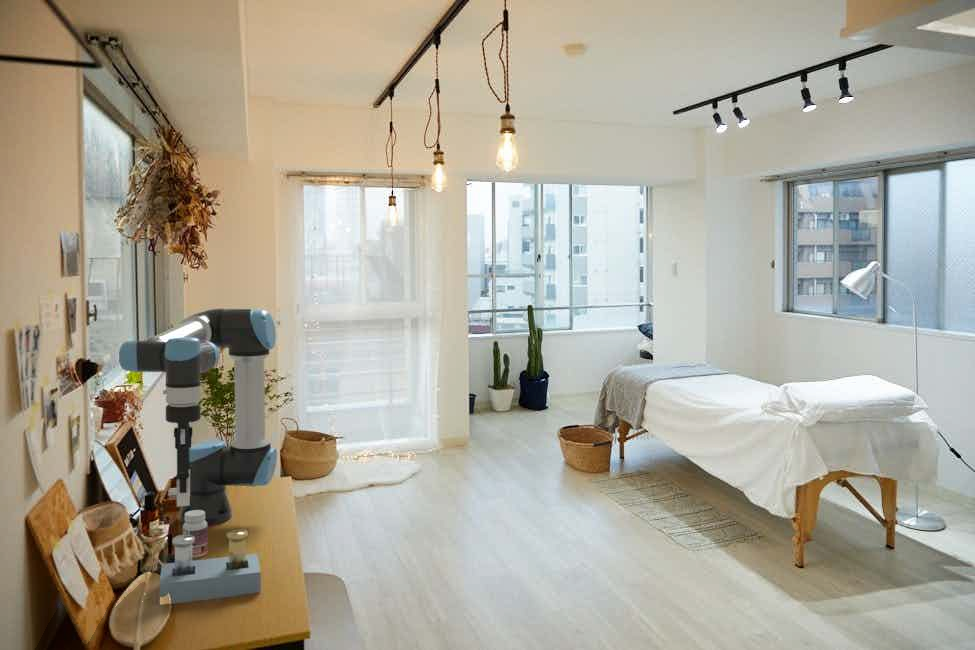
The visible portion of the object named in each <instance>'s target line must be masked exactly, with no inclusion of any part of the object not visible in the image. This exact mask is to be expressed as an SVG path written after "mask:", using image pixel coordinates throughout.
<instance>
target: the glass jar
mask: <svg viewBox="0 0 975 650" xmlns="http://www.w3.org/2000/svg"><path fill="white" fill-rule="evenodd" d="M248 536H249V531H248V530H247V529H244V528H243V529H241V528H240V529H232V530H229V531H227V533H226V539H227V540H228V557H229V569H231V570H234V569H242V568H245V567H246V555H247V554H246V552H247V551H246V547H247V545H246V543H247V542H246V539H247V538H248Z"/></svg>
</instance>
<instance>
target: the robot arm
mask: <svg viewBox="0 0 975 650" xmlns="http://www.w3.org/2000/svg"><path fill="white" fill-rule="evenodd" d="M276 332H277V331H276V326H275V321H274V319H273V317H272V315H271V313H270V312H269V311H267V310H265V309H256V308H237V309H236V308H214V309H208V310H205V311H201V312H197V313H196V314H195V313H194V314H193V315H189V316H188V317H186V318H184V319H182V320H181V322H180V323H179V324H178V325H176V326H174V327H172V328H169V329H167V330H165V331H163V332H161V333H158V334H156V335H154V336H152V337H149V338H148V339H145V340H137V339H136V340H126V341H124V342H123V343H122V344H121V346H120V347H119V351H118V363H119V365H120V367H121V369H122V370H124V371H126V372H135V373H143V372H144V373H165V390H164V389H163V390H162V395H165V403H166V406H165V421H166V422H168V423H171V424H177V427H174V430H173V437H174V448H175V449H176V476H173V480H176V507H177V508H179V507H180V509H179V512H178V522H179V523H180V524H182V525H183V524H184V523H185V522H186V521H185V520H184V518H185V513H186V512H188V511H192V510H203V511H205V519H204V520H205V521H206V522H207V526H213V525H217V524H218V525H219V524H222V523H223V522H224V523H225V522H226V521H228V520H230V519H231V518H232V516H233V515H232V514H233V511H232V509H233V508H232V505H231V503H230V500H229V498H228V495H227V490H226V489H227V488H226V487H227V486H232V487H233V486H234V487H235V486H237V487H238V486H240V487H244V486H245V487H260V486H261V487H262V486H263V487H264V486H267V485H268V484H269V483H270V482H271V481H272V479H273V478H274V474H275V470H276V466H277V461H278V452H277V451H278V450H277V448H276V447H274V446H272V445H271V439H269V438H268V437H267V436H266V416H265V415H266V407H265V406H266V402H265V401H266V399H265V398H266V397H265V396H266V395H265V394H266V393H265V392H266V391H265V386H266V385H265V359H266V358H267V357H268V356H269V355H270V350H272V349H274V347H275V346H276V338H277V335H276V334H277V333H276ZM218 348H220V349H221V348H222V349H228V356H229V357H230V358H231V359H233V361H234V366H233V367H234V370H233V371H234V412H235V413H234V415H235V422H234V424H235V438H234V439H233V440H232V441H231V442H230V446H227V443H226V441H224V440H209V441H203V442H200V443H196V444H193V445H192V437H193V426H190V423H195V422H198V421H200V419H201V415H202V413H201V404H200V402H201V400H202V398H201V397H202V396H201V395H202V390H201V389H202V386H201V374H202V373H207V372H209V371H211V370H212V369H214V368H215V367H216V366H217V365H218V363H219V362H220V358H221V356H220V354H221V353H220V350H219V349H218ZM271 446H272V447H271Z"/></svg>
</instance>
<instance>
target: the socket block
mask: <svg viewBox="0 0 975 650" xmlns="http://www.w3.org/2000/svg"><path fill="white" fill-rule="evenodd" d="M261 572H262V571H261V567H260V561H259V556H258V553H251V554H246V567H245V568H242V569H234V570H231V569H229V556H224V557H216V558H215V557H214V558H205V559H197V560H192V574H190V575H182V576H176V575H175V562H169V563H161V568H160V576H159V582H158V592H159V593H158V595H159V596H158V598H159V597H164V596H166V595H167V594H168V593H169V595H170V598H171V602H172V604H171V605H175V604H181V603H190V602H198V601H204V600H205V601H206V600H212V599H213V600H214V599H221V598H229V597H230V598H231V597H236V596H237V597H238V596H245V595H252V594H258V593H259V594H260V593H261V588H262V587H261V585H262V584H261V582H262V574H261Z"/></svg>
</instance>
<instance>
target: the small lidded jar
mask: <svg viewBox="0 0 975 650" xmlns="http://www.w3.org/2000/svg"><path fill="white" fill-rule="evenodd" d="M194 542H195V537H194V536H193V535H183V534H179V535H176V536H175V537H173V538H172V545H173V546H174V563H175V575H176V576H182V575H190V574H192V561H193V558H192V543H194Z"/></svg>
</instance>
